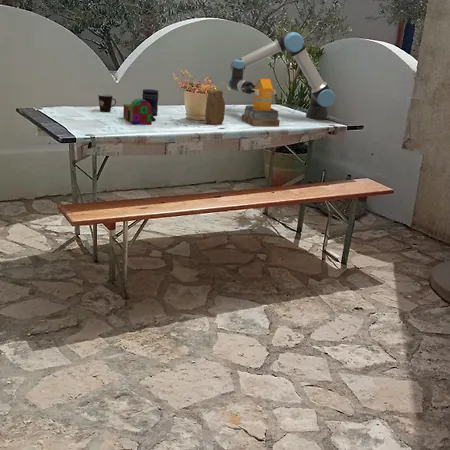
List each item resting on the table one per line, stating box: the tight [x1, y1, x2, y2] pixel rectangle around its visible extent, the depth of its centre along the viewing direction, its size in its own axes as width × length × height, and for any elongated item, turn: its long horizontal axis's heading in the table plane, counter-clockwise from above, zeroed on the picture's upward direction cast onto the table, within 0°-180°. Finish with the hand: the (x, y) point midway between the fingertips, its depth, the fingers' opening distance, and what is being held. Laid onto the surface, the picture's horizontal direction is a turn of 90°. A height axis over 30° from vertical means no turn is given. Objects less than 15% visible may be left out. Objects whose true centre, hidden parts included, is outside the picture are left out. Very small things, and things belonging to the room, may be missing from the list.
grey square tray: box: [241, 105, 281, 127], centre depth 378 cm, size 18×18×10 cm
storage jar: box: [141, 88, 159, 117], centre depth 371 cm, size 10×10×15 cm
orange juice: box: [252, 77, 274, 111], centre depth 373 cm, size 8×9×20 cm
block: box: [204, 89, 226, 125], centre depth 362 cm, size 11×8×20 cm
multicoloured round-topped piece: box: [122, 97, 156, 126], centre depth 353 cm, size 25×17×14 cm
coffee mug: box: [98, 93, 117, 113], centre depth 368 cm, size 12×9×10 cm
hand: (267, 92), depth 370 cm, fingers open, 13 cm apart
